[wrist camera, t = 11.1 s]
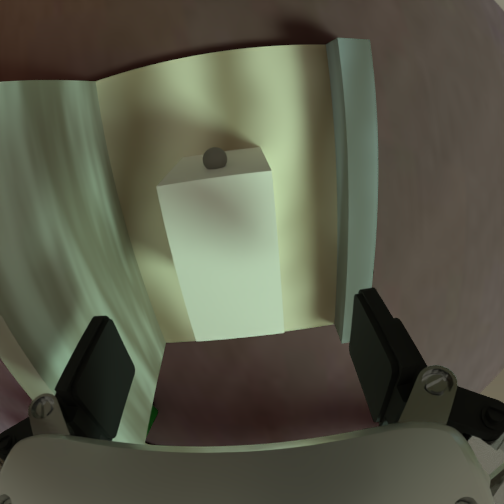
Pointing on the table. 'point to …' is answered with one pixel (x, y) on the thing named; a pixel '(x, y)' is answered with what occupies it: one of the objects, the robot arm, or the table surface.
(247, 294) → the mini cabinet
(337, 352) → the table surface
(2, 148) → the curved railed panel
